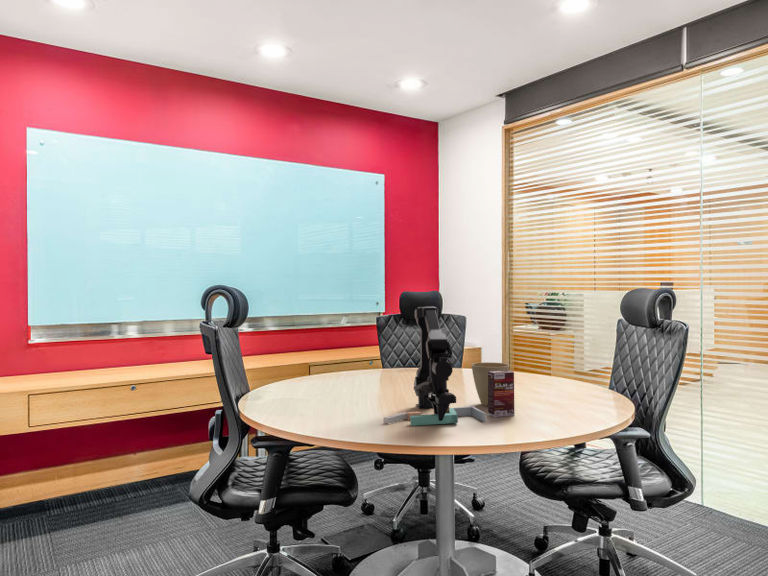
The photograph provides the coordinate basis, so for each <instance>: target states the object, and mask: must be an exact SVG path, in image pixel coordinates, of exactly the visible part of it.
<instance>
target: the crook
mask: <svg viewBox="0 0 768 576" xmlns="http://www.w3.org/2000/svg"><path fill="white" fill-rule="evenodd" d="M453 408H454V407H449V413H446V414H445V416H444V418H443V420H442V421H439V418H438V414H434V413H433V414H421V415H415V416H410V420H409V421H410V426H428V425H445V424H458V423H459V420H458V417H459V416H457V413H456V412H455V410H454V409H453Z"/></svg>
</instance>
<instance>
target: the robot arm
mask: <svg viewBox="0 0 768 576" xmlns="http://www.w3.org/2000/svg"><path fill="white" fill-rule="evenodd" d="M414 318H415V321H416V324H417V326H418V327H419V329H420V334H419V335H420V337H419V339H420V341H419V342H420V346H419V349H420V361H419V362H420V365H419V367H418V368H417V370H416V374H415V376H414V383H413V390H414V393H415V396H416V397H418V398H417V399H418V403H416V404H415V406H416V407H417V408H419V409H432V410H433V414H434V413H435V414H438V418H439V421H442V420H443V418H444V416H445V413H446V411H447V409H448V407H449V408H450V405H451V404H456V403H457V396H456V395H455V394H454V393H451V392H450V390H449V389H448V387H447V386H448V381H449V379H450V376H451V375H452V373H453V366H452V364H451V363H450V362H449V361H448V359H452V356H453V349H452V346H451V343H450V340H448V338H447V336H446V334H445V333H444V332H442V331H441V327H440V323H439V319H438V318H439V308H438V307H436V306H432V305H431V306H418V307H417V308H415V310H414Z"/></svg>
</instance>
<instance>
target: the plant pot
mask: <svg viewBox="0 0 768 576" xmlns="http://www.w3.org/2000/svg"><path fill="white" fill-rule="evenodd" d="M471 370H472V376H473V381H474V382H473V383H474V385H475V389H476V393H477V396H478V399H479V401H480V402H479V403H481V405H482V406H484V407H488V372H491V371H507V370H508V371H510V364H508V363H504V362H474V363H471Z"/></svg>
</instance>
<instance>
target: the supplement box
mask: <svg viewBox="0 0 768 576" xmlns="http://www.w3.org/2000/svg"><path fill="white" fill-rule="evenodd" d="M487 414H488V415H489V416H490V417H492V418H499V417H510V416H515V371H511V370H509V371H508V370H507V371H491V372H488V406H487Z"/></svg>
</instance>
